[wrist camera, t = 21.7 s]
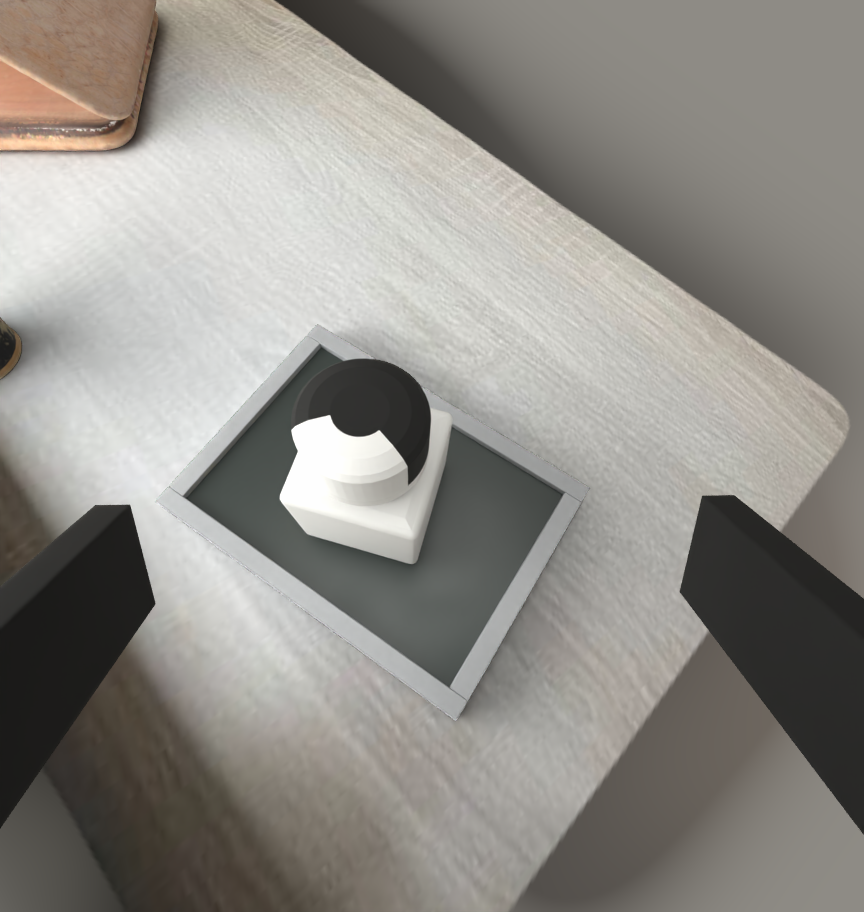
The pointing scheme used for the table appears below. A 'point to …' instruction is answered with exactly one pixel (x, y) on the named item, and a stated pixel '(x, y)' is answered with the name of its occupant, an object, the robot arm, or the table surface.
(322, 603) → the chalkboard
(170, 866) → the table surface
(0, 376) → the mug
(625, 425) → the table surface
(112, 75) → the case
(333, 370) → the medicine bottle
